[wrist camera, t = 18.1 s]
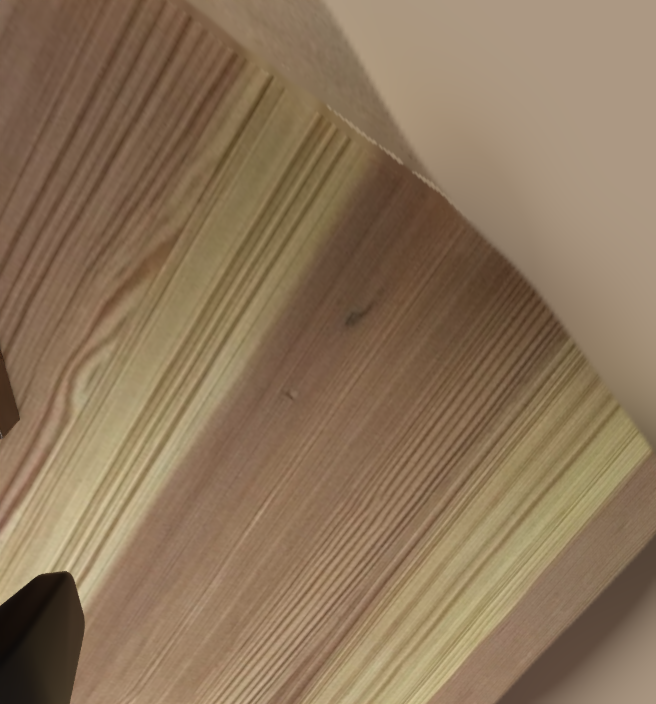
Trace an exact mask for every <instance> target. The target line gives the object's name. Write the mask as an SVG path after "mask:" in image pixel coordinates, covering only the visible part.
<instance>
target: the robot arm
mask: <svg viewBox="0 0 656 704" xmlns="http://www.w3.org/2000/svg"><path fill="white" fill-rule="evenodd" d="M84 628H85V621H84V614H83V610H82V607H81V603H80V600H79V596H78V592H77V589H76V585H75V582H74V579H73V576H72V575H71V574H70V573H69V572H67V571H62V572H54V573H45V574H41V575H38V576H37V577H35V578H34V579H33V580H31V581H30V582H29V583H28V584H27V585H25V586H24V587H23V588H22V589H20V590H19V591H18V592H17V593H16V594H14V595H13V596H12V597H11V598H9V599H8V600H7V601H6V602H4V603H3V604H2V605H1V606H0V704H70V700H71V695H72V690H73V685H74V680H75V675H76V670H77V665H78V660H79V655H80V650H81V646H82V641H83V636H84Z"/></svg>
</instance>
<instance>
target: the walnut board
mask: <svg viewBox="0 0 656 704" xmlns="http://www.w3.org/2000/svg"><path fill="white" fill-rule="evenodd" d="M19 419H20V418H19V414H18V411H17V407H16V404H15V400H14V397H13V393H12V390H11V386H10V383H9V379H8V375H7V372H6V368H5V365H4V361H3V358H2V354H1V351H0V439H3V438H4V437H5V436H6V434H7V433H8V432H9V431H10V430H11V429H12V428H13V427H14V425H15V424H16V423H17V422H18V421H19Z"/></svg>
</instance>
